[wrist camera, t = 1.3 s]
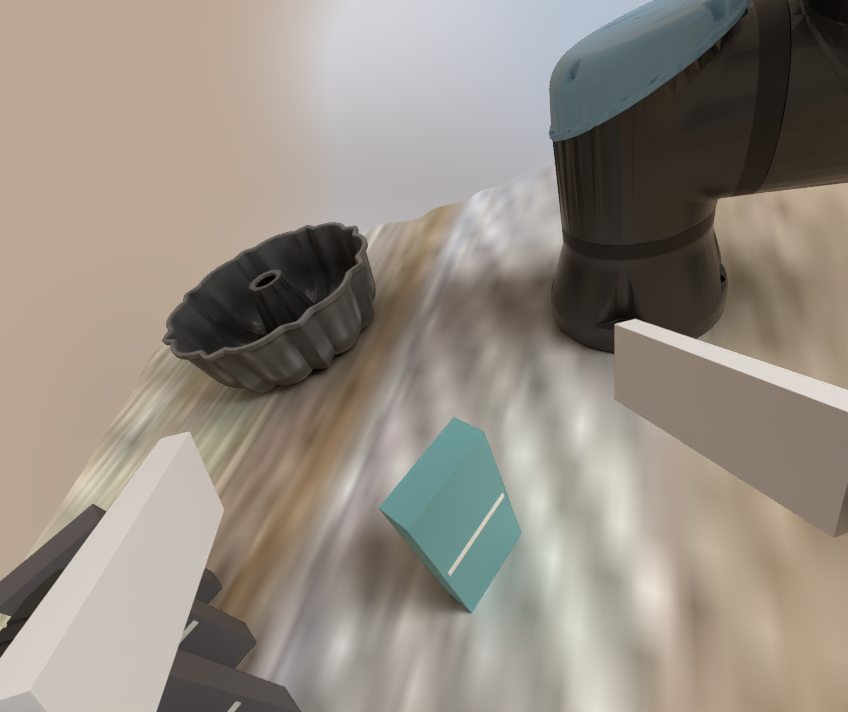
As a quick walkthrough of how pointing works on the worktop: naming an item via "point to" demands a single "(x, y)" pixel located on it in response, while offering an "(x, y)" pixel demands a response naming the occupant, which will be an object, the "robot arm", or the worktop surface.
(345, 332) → the bundt pan
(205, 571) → the black tile
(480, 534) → the teal tile
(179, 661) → the black tile
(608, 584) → the worktop surface
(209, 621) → the black tile
